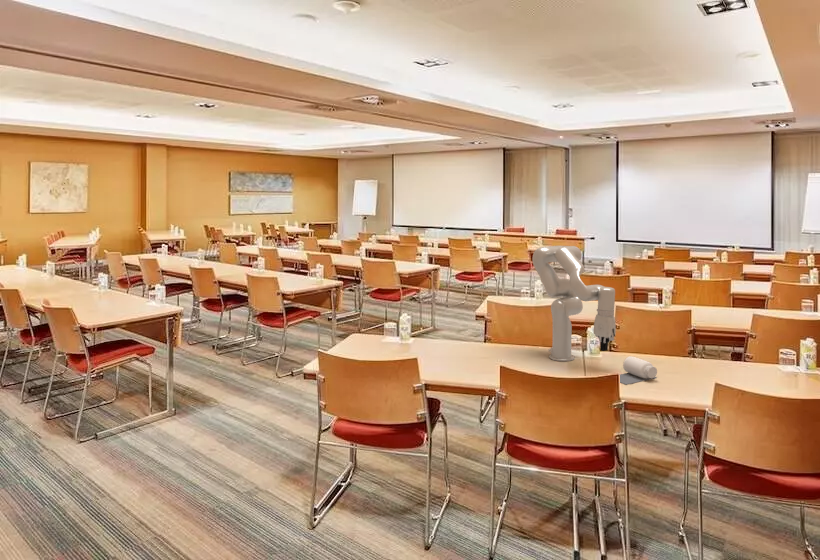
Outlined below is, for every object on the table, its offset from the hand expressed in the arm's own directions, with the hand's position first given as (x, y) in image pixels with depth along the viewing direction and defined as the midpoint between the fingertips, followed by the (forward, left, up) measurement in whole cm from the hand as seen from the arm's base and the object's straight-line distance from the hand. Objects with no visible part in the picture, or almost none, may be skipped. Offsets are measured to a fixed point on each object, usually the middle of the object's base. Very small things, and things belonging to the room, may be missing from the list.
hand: (603, 350), depth 282 cm
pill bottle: (+10, +6, -5) cm, 13 cm away
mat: (+16, 0, -10) cm, 19 cm away
